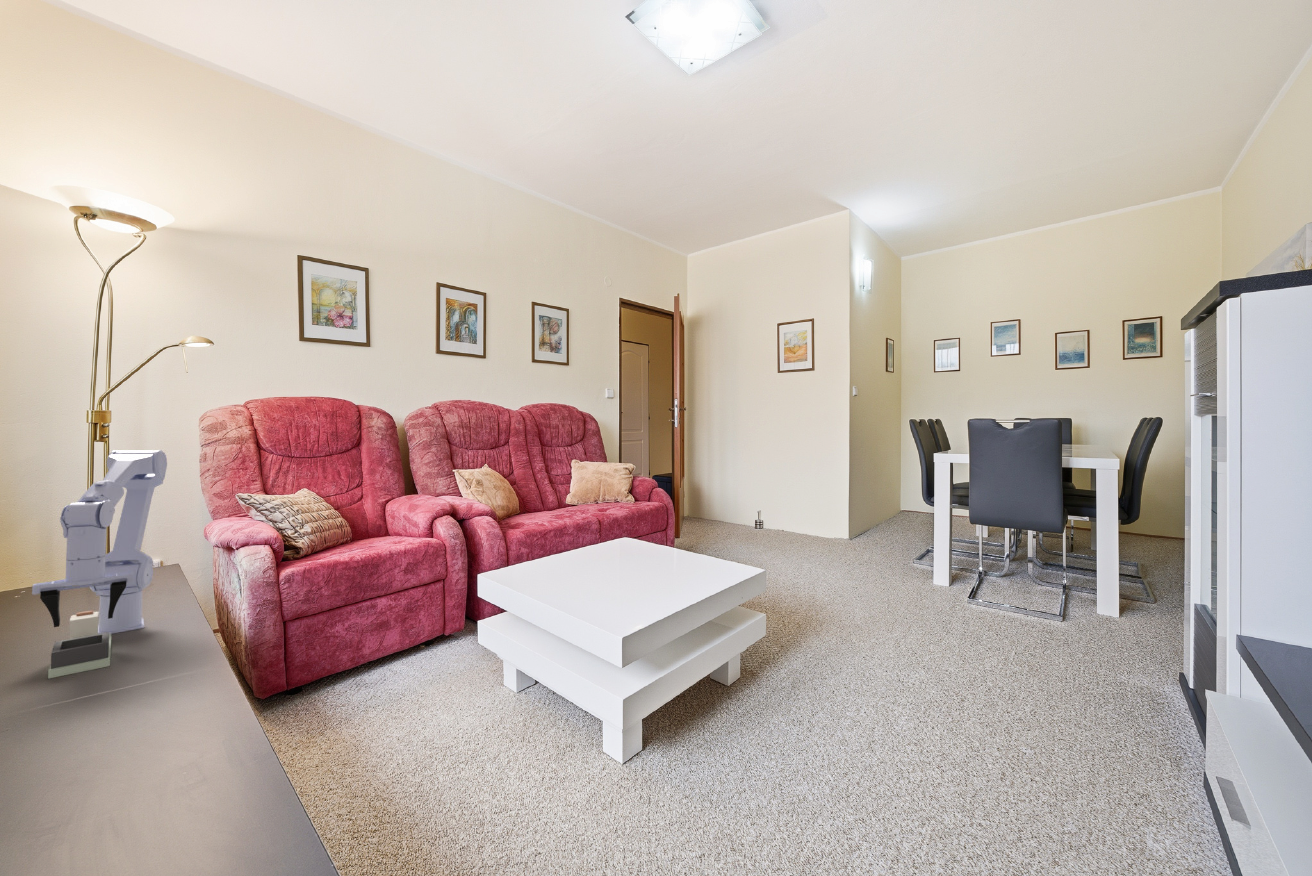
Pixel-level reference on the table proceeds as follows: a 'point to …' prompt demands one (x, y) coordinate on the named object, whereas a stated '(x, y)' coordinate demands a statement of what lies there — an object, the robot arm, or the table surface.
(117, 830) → the table surface
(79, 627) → the plug
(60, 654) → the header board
